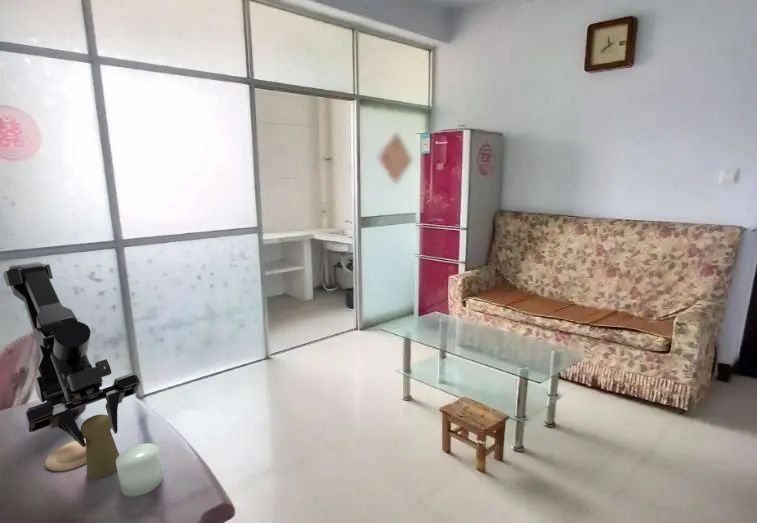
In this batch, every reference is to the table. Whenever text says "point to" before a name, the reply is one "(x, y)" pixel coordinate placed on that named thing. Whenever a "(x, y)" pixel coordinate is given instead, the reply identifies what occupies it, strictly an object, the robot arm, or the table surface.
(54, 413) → the robot arm
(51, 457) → the trivet
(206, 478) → the table surface
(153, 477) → the pale mint rounded cylinder
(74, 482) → the table surface
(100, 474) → the pepper shaker
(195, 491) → the table surface
